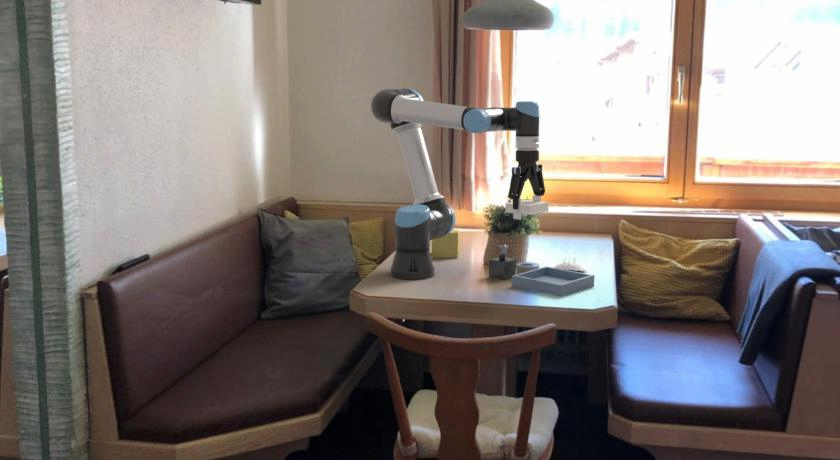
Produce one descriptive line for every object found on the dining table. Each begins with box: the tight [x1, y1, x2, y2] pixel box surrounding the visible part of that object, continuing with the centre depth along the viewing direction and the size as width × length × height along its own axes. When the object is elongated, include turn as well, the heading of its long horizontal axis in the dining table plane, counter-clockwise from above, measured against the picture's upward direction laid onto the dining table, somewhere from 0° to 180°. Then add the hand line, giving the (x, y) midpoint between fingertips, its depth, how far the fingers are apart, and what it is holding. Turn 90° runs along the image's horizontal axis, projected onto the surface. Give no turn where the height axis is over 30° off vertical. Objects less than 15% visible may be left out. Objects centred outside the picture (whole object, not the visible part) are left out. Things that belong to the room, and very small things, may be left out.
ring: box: [505, 199, 549, 216], centre depth 283 cm, size 10×12×3 cm
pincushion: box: [553, 254, 588, 272], centre depth 302 cm, size 12×6×6 cm, turn 74°
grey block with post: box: [488, 243, 517, 281], centre depth 292 cm, size 6×6×11 cm
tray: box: [511, 266, 596, 297], centre depth 280 cm, size 19×19×4 cm
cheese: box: [431, 228, 461, 259], centre depth 326 cm, size 10×11×10 cm
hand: (526, 217), depth 283 cm, fingers closed on ring, 10 cm apart
